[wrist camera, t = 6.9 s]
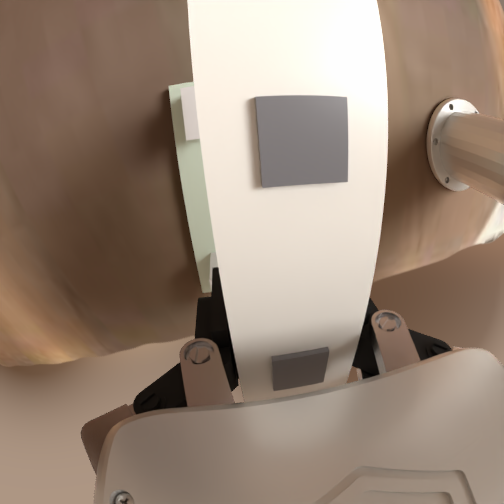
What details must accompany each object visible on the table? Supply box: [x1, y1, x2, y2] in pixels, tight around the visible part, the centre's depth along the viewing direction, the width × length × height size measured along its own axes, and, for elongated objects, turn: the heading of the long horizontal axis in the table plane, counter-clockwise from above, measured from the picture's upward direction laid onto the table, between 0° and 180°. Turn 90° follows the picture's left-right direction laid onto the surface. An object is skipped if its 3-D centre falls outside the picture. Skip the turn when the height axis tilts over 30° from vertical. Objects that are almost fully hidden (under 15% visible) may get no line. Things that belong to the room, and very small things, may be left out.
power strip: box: [188, 0, 388, 402], centre depth 11 cm, size 4×24×5 cm, turn 5°
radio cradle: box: [169, 82, 218, 293], centre depth 24 cm, size 12×22×6 cm, turn 5°
